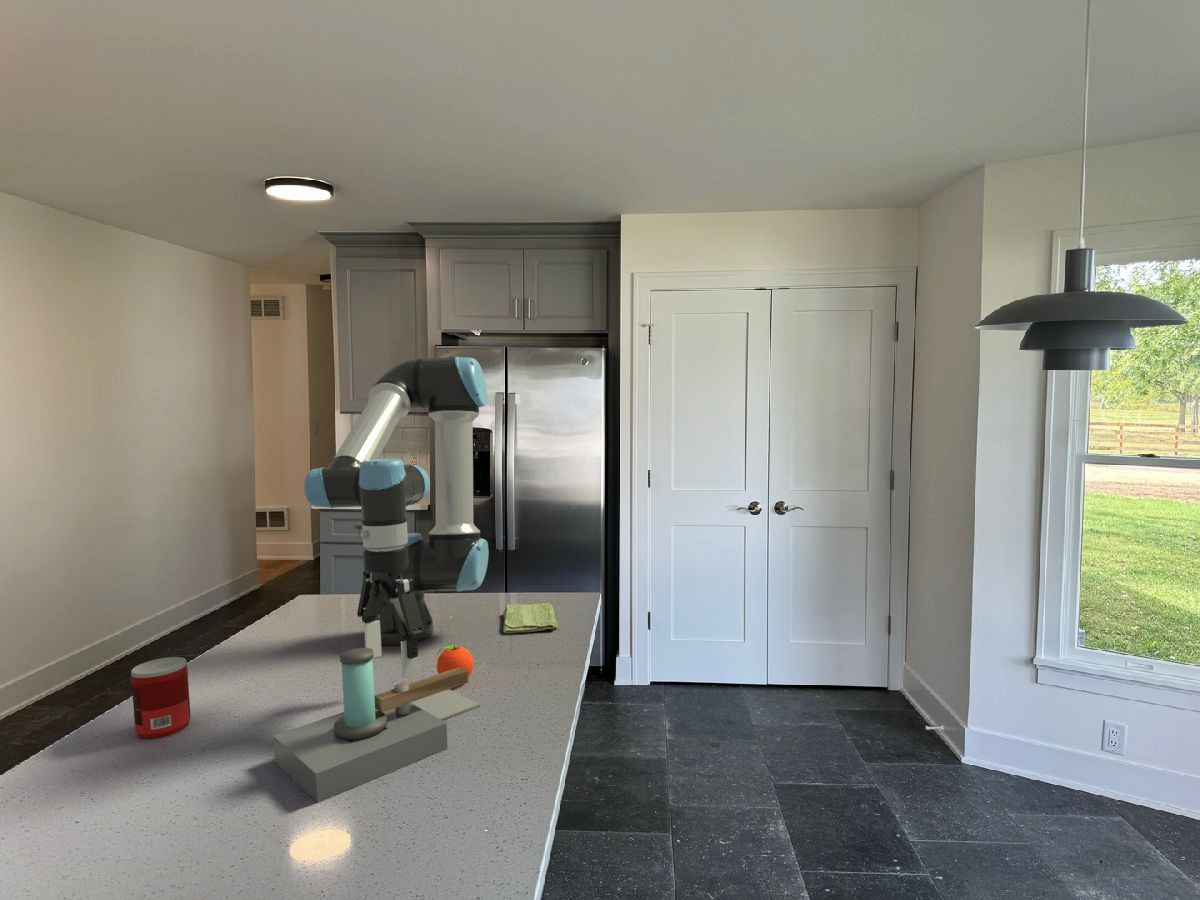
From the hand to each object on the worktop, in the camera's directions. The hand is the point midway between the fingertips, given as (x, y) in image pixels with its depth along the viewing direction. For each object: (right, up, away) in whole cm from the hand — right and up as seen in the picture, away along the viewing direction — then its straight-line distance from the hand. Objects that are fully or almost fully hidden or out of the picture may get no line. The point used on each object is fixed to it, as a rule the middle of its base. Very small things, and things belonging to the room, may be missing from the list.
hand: (391, 666), depth 123 cm
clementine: (+9, -7, +10) cm, 15 cm away
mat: (+9, -7, -1) cm, 11 cm away
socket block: (+1, -8, -17) cm, 19 cm away
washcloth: (+20, -4, +46) cm, 51 cm away
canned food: (-37, -9, -6) cm, 38 cm away
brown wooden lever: (+8, -3, -10) cm, 13 cm away
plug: (+1, -8, -17) cm, 19 cm away
